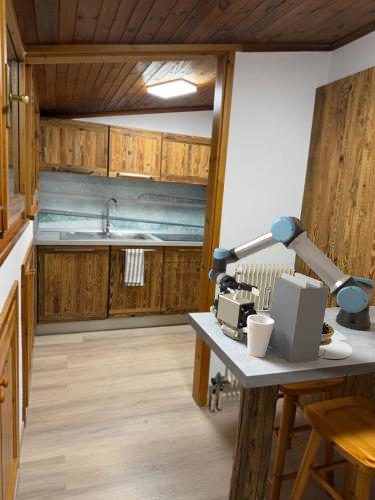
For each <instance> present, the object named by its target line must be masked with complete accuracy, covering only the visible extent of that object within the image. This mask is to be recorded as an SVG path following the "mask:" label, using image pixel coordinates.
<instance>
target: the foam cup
mask: <svg viewBox="0 0 375 500" xmlns="http://www.w3.org/2000/svg"><path fill="white" fill-rule="evenodd" d="M273 327H274V320H273V319H271V318H270V316H266V315H261V314H258V315H250V316H248V318H247V327H246V328H247V329H246V330H247V353H248V355H250V356H252V357H254V358H263V357H265V356H266V355H267V349H268V347H269V346H268V343H269V340H270V336H271V333H272V329H273Z"/></svg>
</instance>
